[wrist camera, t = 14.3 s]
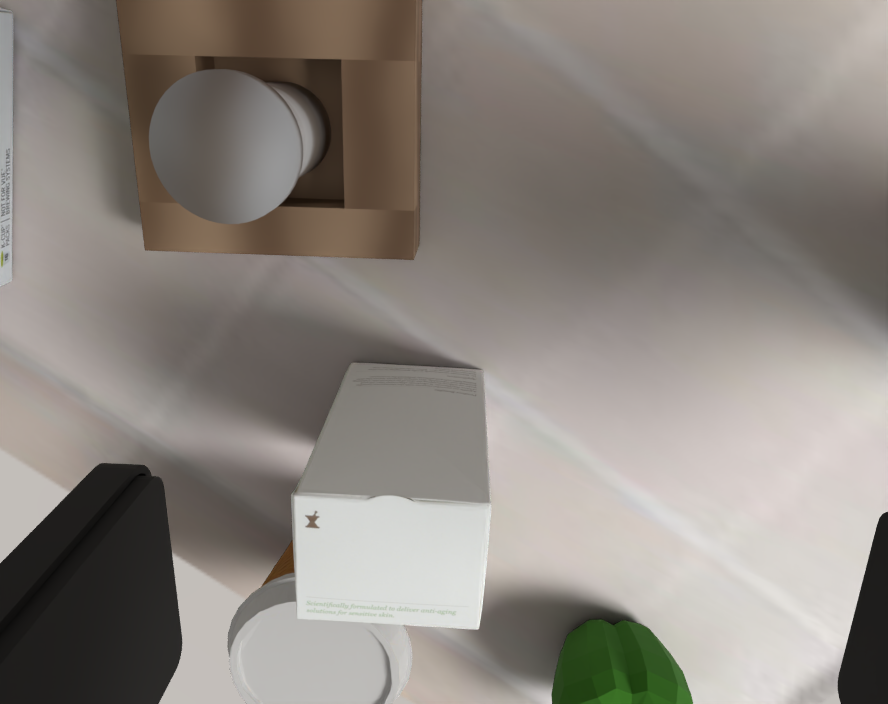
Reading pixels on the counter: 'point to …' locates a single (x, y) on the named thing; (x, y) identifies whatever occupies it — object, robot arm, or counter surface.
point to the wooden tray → (276, 125)
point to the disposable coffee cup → (312, 651)
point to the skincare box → (396, 501)
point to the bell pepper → (617, 667)
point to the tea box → (6, 144)
